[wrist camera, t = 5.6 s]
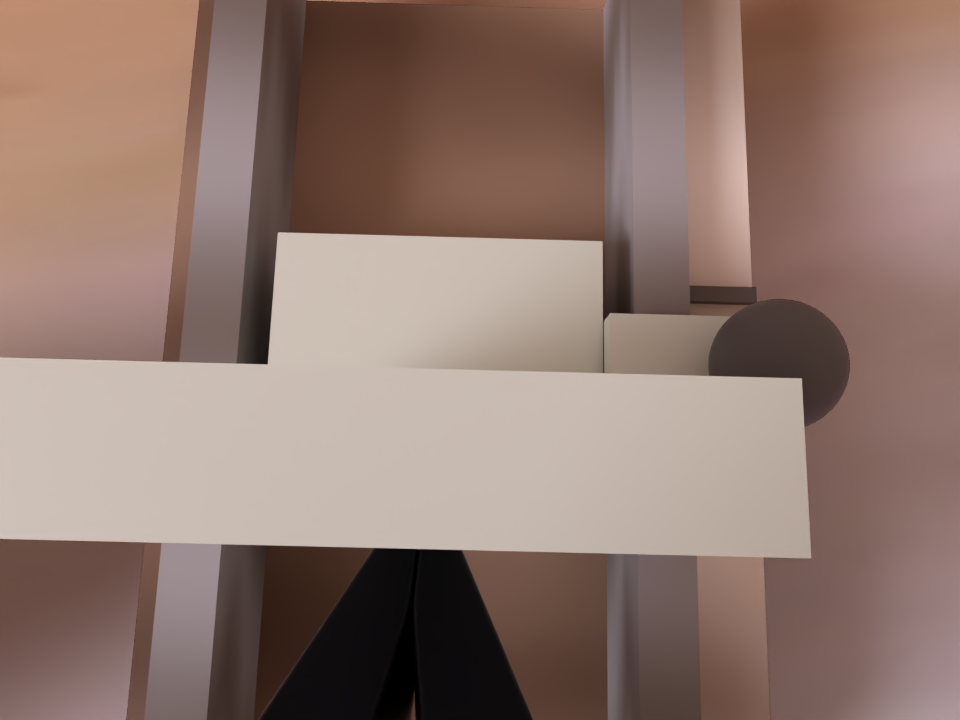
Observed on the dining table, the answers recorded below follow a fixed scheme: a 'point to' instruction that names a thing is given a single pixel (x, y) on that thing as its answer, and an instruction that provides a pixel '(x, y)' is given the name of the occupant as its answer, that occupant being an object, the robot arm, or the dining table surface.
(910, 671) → the dining table surface
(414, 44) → the stand
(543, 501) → the carriage
